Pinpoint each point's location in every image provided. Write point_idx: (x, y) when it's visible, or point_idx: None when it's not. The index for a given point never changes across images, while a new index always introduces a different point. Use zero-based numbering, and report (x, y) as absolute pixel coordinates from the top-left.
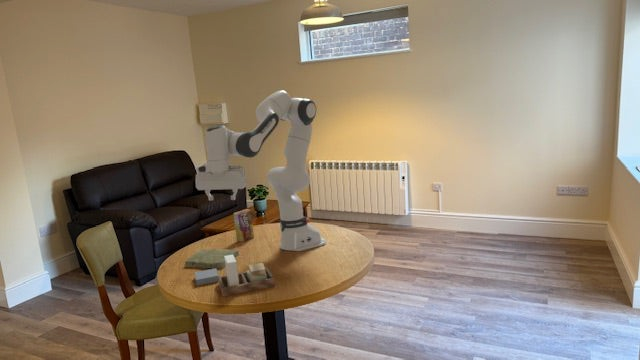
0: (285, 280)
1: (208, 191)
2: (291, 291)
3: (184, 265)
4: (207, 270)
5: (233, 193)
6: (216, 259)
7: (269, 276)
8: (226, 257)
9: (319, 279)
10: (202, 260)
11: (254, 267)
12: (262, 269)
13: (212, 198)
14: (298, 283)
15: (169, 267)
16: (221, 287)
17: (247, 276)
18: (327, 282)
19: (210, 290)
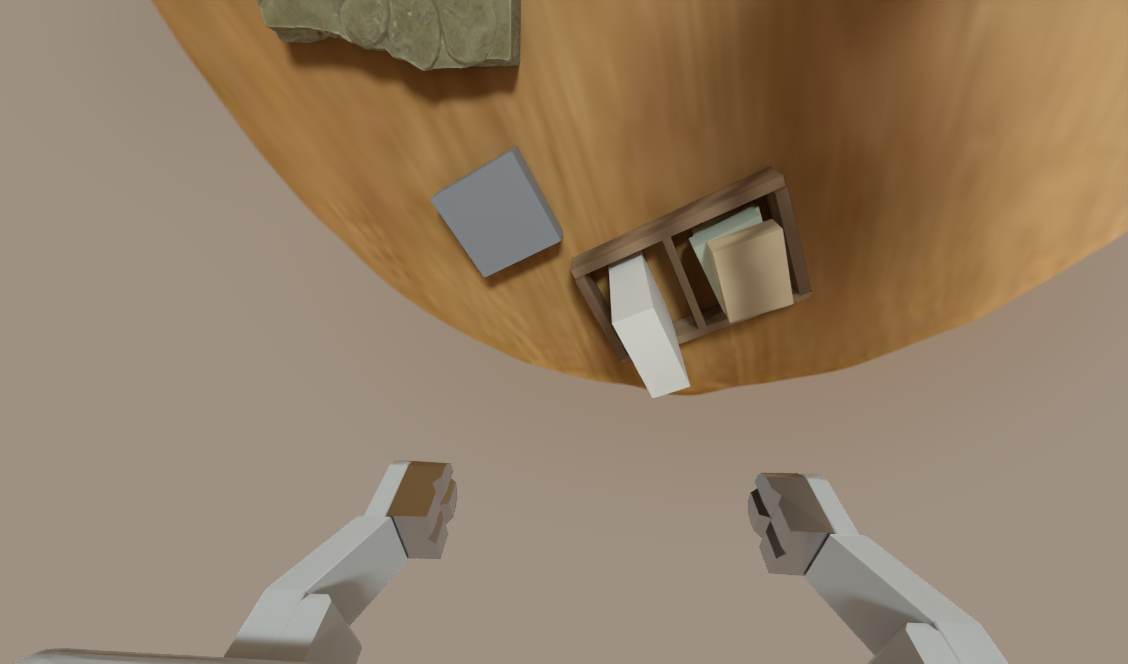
0: (849, 235)
1: (353, 658)
2: (857, 326)
3: (280, 39)
4: (481, 179)
5: (849, 627)
6: (450, 7)
7: (793, 274)
8: (630, 341)
9: (1002, 232)
10: (368, 22)
11: (742, 283)
12: (780, 305)
13: (441, 499)
14: (898, 266)
15: (198, 34)
16: (619, 359)
17: (689, 240)
18: (1023, 263)
19: (561, 305)
